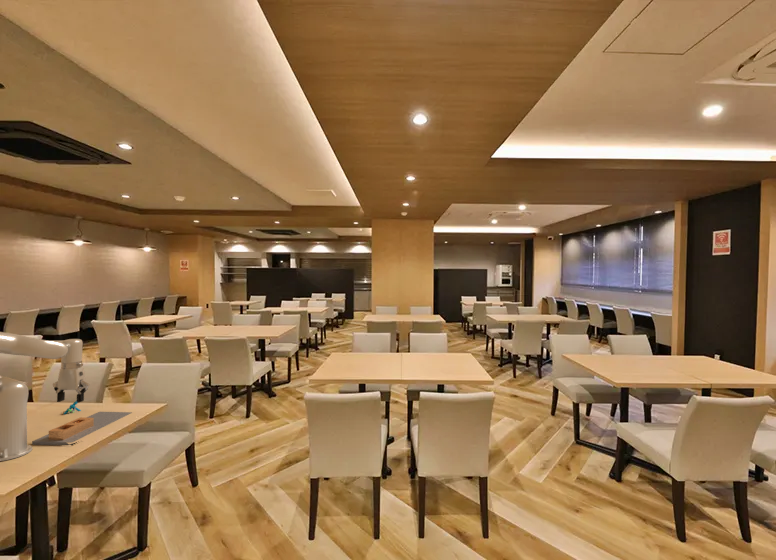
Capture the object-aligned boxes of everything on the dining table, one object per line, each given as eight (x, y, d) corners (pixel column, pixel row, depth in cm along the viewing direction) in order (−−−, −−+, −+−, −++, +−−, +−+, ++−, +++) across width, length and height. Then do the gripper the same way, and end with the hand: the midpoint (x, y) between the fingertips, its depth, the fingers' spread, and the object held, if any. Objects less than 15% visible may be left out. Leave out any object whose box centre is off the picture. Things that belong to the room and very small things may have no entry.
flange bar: (63, 440, 166) (63, 431, 166) (48, 439, 166) (48, 431, 166) (93, 425, 182) (93, 417, 182) (80, 425, 182) (80, 417, 182)
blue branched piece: (66, 408, 205) (81, 394, 208) (75, 413, 208) (90, 400, 210) (58, 417, 196) (74, 403, 198) (68, 423, 198) (84, 409, 200)
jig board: (72, 445, 164) (72, 437, 164) (32, 444, 165) (32, 436, 165) (132, 415, 200) (132, 408, 199) (99, 414, 201) (99, 407, 201)
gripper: (95, 364, 177) (94, 399, 177) (61, 363, 178) (60, 398, 178) (81, 367, 169) (80, 404, 169) (46, 366, 170) (45, 403, 170)
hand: (70, 401), depth 173 cm, fingers open, 9 cm apart
